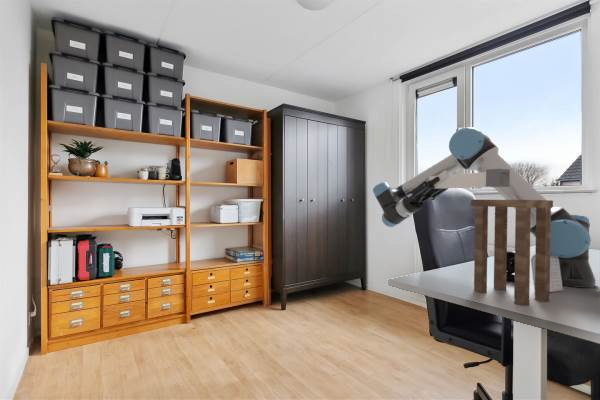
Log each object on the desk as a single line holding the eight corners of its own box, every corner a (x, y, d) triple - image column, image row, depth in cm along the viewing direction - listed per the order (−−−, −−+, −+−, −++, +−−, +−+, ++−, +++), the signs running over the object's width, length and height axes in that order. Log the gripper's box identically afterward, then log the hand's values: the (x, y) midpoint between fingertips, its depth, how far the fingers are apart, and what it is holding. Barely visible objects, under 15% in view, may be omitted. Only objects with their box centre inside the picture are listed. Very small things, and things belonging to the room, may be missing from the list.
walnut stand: (495, 286, 101) (496, 200, 101) (551, 301, 86) (552, 200, 86) (469, 289, 96) (470, 199, 96) (523, 306, 82) (525, 199, 82)
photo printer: (549, 289, 102) (544, 250, 103) (565, 290, 98) (560, 251, 99) (532, 292, 97) (527, 252, 99) (548, 294, 93) (543, 252, 95)
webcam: (505, 282, 106) (505, 253, 106) (491, 277, 114) (492, 249, 114) (527, 282, 106) (528, 253, 106) (512, 277, 114) (513, 250, 114)
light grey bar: (437, 188, 119) (437, 175, 119) (509, 186, 94) (509, 169, 94) (427, 188, 117) (428, 174, 117) (498, 186, 92) (499, 168, 92)
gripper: (428, 213, 130) (473, 183, 112) (396, 212, 123) (438, 181, 105) (421, 197, 134) (464, 166, 115) (390, 196, 127) (430, 163, 108)
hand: (451, 173), depth 110 cm, fingers closed on light grey bar, 4 cm apart
